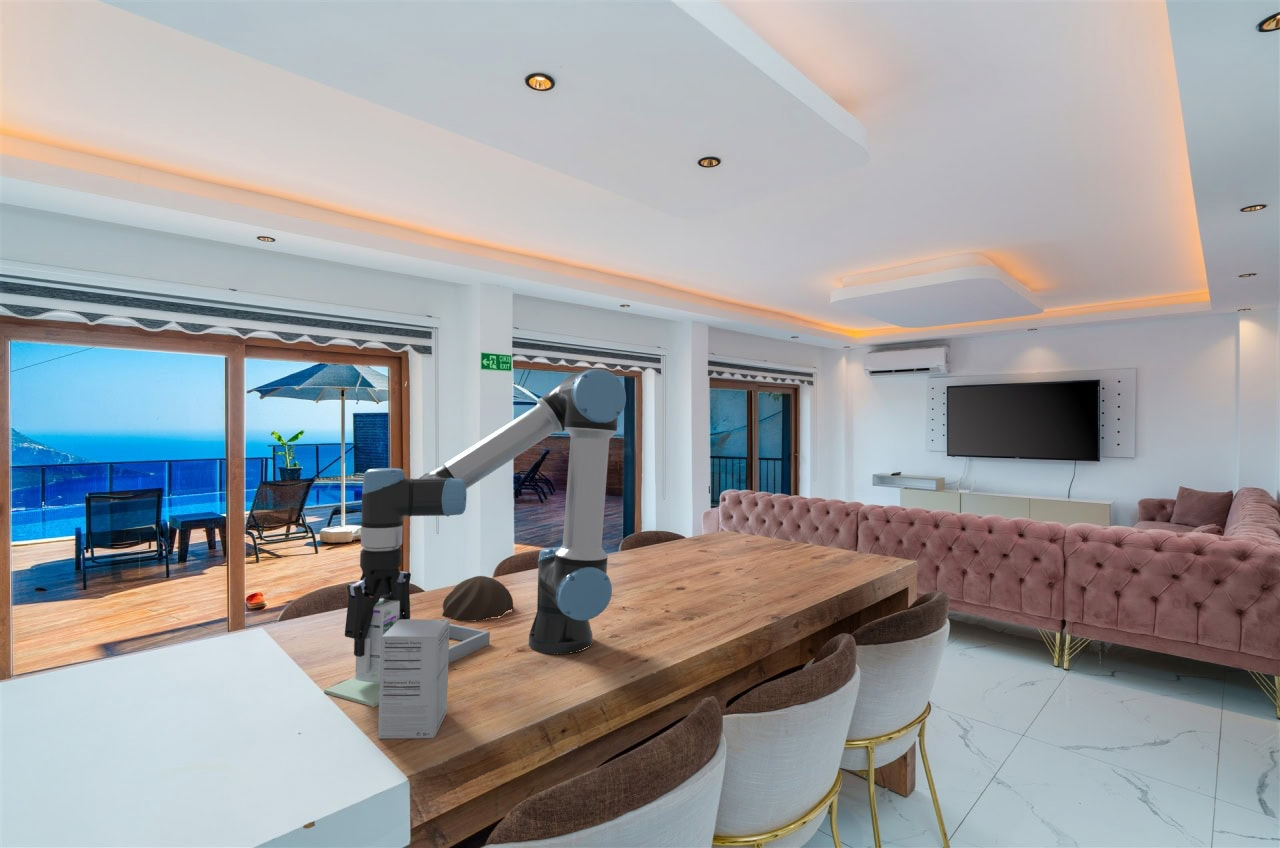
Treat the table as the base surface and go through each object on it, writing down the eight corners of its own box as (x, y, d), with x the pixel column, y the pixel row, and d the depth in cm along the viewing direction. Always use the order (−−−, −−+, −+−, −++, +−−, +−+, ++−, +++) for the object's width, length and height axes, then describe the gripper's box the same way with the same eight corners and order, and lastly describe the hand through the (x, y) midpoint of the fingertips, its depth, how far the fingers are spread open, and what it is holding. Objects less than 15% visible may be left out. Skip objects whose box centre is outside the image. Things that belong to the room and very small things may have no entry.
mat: (426, 681, 123) (426, 678, 123) (374, 707, 111) (374, 703, 111) (379, 669, 129) (379, 667, 129) (324, 692, 117) (324, 689, 117)
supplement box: (394, 713, 109) (397, 618, 110) (447, 712, 110) (450, 618, 110) (376, 740, 100) (379, 635, 100) (434, 739, 100) (437, 635, 101)
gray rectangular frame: (489, 644, 146) (489, 631, 146) (417, 678, 125) (417, 663, 125) (440, 634, 152) (440, 622, 152) (363, 664, 131) (364, 650, 131)
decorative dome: (513, 601, 185) (514, 567, 185) (513, 621, 165) (514, 583, 165) (445, 603, 181) (446, 568, 181) (437, 623, 161) (439, 585, 161)
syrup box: (381, 683, 117) (383, 607, 117) (353, 680, 118) (356, 604, 118) (398, 672, 122) (401, 599, 123) (372, 669, 123) (375, 597, 124)
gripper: (405, 538, 131) (401, 647, 131) (324, 553, 113) (320, 679, 113) (432, 541, 128) (428, 653, 127) (353, 557, 110) (349, 687, 110)
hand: (377, 665), depth 120 cm, fingers closed on syrup box, 6 cm apart
